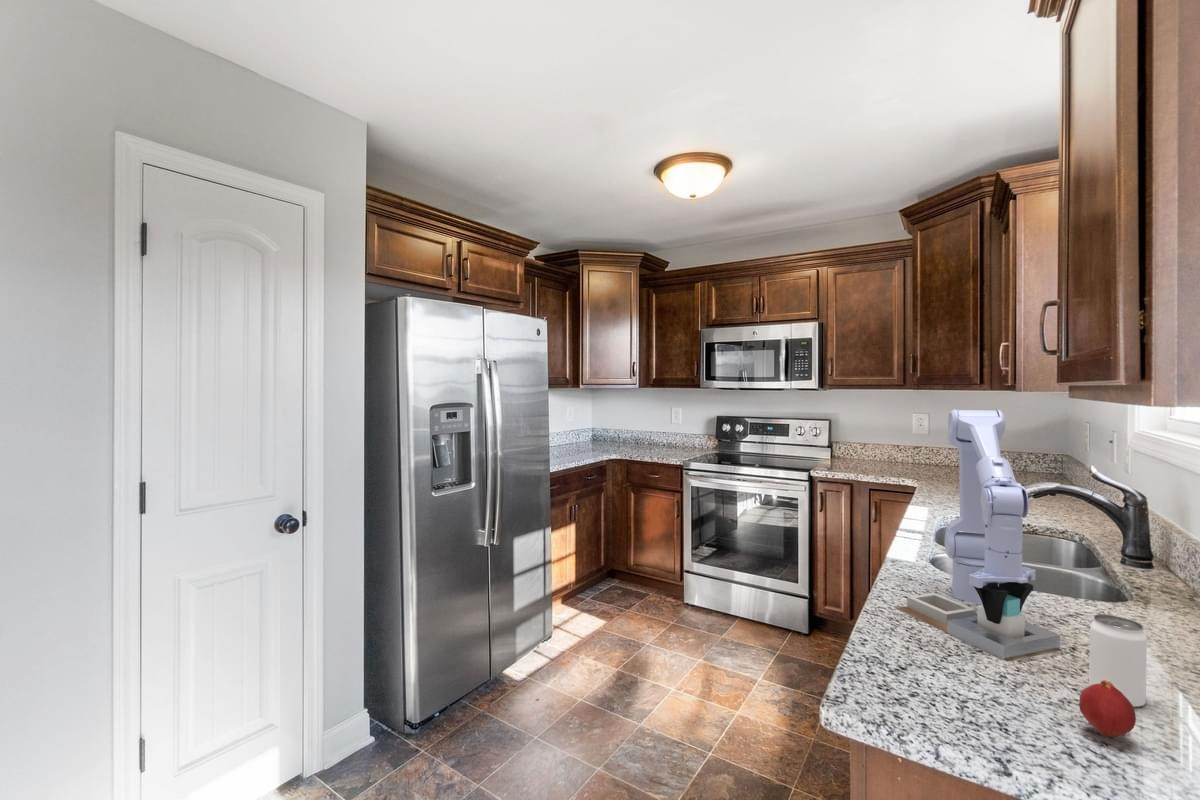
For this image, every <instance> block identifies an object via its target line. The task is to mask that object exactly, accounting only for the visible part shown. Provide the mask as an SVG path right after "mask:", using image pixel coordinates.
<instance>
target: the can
mask: <svg viewBox="0 0 1200 800" xmlns="http://www.w3.org/2000/svg"><path fill="white" fill-rule="evenodd" d="M1089 626H1090V627H1089V628H1090V629H1089V660H1088V661H1089V667H1088V668H1089V674H1088V675H1089V677H1088V678H1089V679H1088V680H1089V681H1088V684H1089V685H1088V687H1089V686H1091V685H1093V684H1100V683H1101V681H1102V680H1108V681H1110V682H1111V683H1112V684H1113V686H1114V687H1115V688H1116V689H1118V690H1119V691H1120V692H1122V693H1123V695H1124V696H1125V697H1126V698H1127V699H1128V700H1129V701H1130V703H1131V704H1132V706H1133V708H1140V707H1142V706H1145V705H1146V701H1147V700H1146V699H1147V670H1148V669H1147V668H1148V667H1147V666H1148V665H1147V664H1148V663H1147V662H1148V661H1147V659H1148V657H1147V656H1148V639H1147V636H1146V634H1145V632H1144V626H1143V625H1142V624H1140V623H1139V622H1137V621H1136V620H1133V619H1129V618H1126V617H1123V616H1118V615H1114V614H1113V615H1112V614H1104V613H1100V614H1095V615H1093V621H1092V622H1091V623H1090V625H1089Z"/></svg>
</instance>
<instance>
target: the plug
mask: <svg viewBox="0 0 1200 800" xmlns="http://www.w3.org/2000/svg"><path fill="white" fill-rule="evenodd" d="M976 614H977V624H978V625H981V626H983V627H985V628H988V629H990V630H992V631H995V632H997V633H999V634H1002V635H1004V636H1006V637H1008V638H1011V639H1015V638H1021V637H1024V633H1025V622H1026V621H1025V620H1026V616H1025V615H1023V614H1021V612H1020V599H1019V598H1016V597H1013V596H1011V595H1007V596H1006V599H1005V601H1004V605H1003V610H1002V618H1001V622H1000V624H996V623H993V622H991V621H988V620H987V618H986V614H985V611H984V607H983V604H982V603H981V605H977V611H976Z"/></svg>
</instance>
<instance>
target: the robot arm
mask: <svg viewBox="0 0 1200 800" xmlns="http://www.w3.org/2000/svg"><path fill="white" fill-rule="evenodd" d="M1005 431H1006V418H1005V415H1004V413H1003V412H1002V410H1000V409H995V410H990V409H989V410H988V409H987V410H985V409H984V410H982V409H981V410H980V409H979V410H977V409H976V410H975V409H974V410H973V409H972V410H971V409H970V410H967V409H964V410H963V409H956V408H955V409H953V408H952V410H950V411H949V413H948V417H947V439H948V443H949V444H950V445H952V446H954V447H956V449H957V452H958V474H959V475H958V477H959V479H958V480H959V481H958V484H959V485H958V487H959V490H958V491H959V516H958V517H957V518H955V519H954V520H952V521H950V522H948V523H947V524H946V526H945V534H944V550H945V554H946V555H947V557H948V558H949V559H952V579H951V581H952V583H951V585H952V589H951V591H952V593H951V595H952V596H953V597H955V598H957V599H959V600H962V601H965V602H970V603H974V604H975V603H976V604H981V605H982V604H983V607H984V611H985V614H986V618H987V620H988V621H991V622H993V623H996V624H1000V622H1001V618H1002V610H1003V605H1004V601H1005V599H1006V596H1007V595H1011V596H1013V597H1016V598H1019V599H1020V613H1021V612H1022V610H1023V606H1024V604H1025V602H1026V600H1027V599H1028V596H1029V595H1030V594H1031V593H1032V592H1033V591H1034V585H1033V584H1032V583H1028V582H1029V581H1036V574H1037V573H1036V569H1032V568H1029V567H1026V566H1023V534H1024V533H1023V531H1024V530H1023V528H1024V527H1023V525H1024V524H1023V521H1024V519H1025V518H1026V517H1028V514H1029V507H1030V506H1029V496H1028V492H1027V489H1026V488H1025V487H1024V486H1022V484H1021V483H1020V482H1017V480H1016V478H1015V475H1014V472H1013V468H1012V466H1011V463H1010V461H1009V460H1008V459H1007V458H1004V457H1002V456H1001V450H1000V449H1001V448H1000V443H999V440H1001V439H1002V437H1003V436H1004V433H1005Z"/></svg>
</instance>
